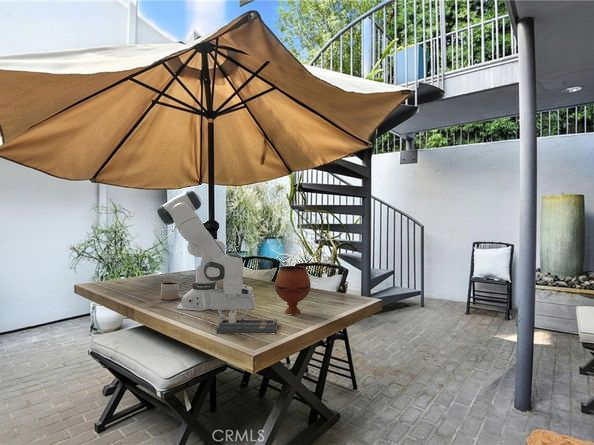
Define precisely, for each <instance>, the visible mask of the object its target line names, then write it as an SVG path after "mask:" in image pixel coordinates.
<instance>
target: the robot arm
mask: <svg viewBox="0 0 594 445" xmlns="http://www.w3.org/2000/svg"><path fill="white" fill-rule="evenodd" d="M201 206H202V200H201V197H200V196H199V195H198V193H196V192H195V191H194V190H188V191H185V192H184V193H181V194H179V195H177V196H175V197H173V198H172V199H170V200H169V201H166V203H163V204H161V205H160V206H159V207H158V208H157V210H156V212H157V217H158V220H159V221H160V222H162V223H163V224H164V225H167V226H168V225H172V224H174V225H175V227H176V229H177V230H178V232H179V234H180V235H181V237H182V238H183V239H184V240H185V241H187V251H188V253H189V255H191V256H194V257H196V258H201V261H200V264H199V265H198V266H196V268H195V281H193V283H192V284H191V287H192V288H191V289H190V290H189V291H188V292H186V293H185V294H184V295H183V296H182V297H181V303H178V305H177V306H176V309H177V310H183V311H196V312H197V311H199V312H203V311H207V310H214V311H215V310H217V311H218V312H217V313H218V314H219V316H220V320H222V319H224V318H225V316H226V315H225V314H223V312H222V311H224V310H225V311H233V310H234V311H243V312H244V314H241V318H240V319H241V320H245V319H246V314H247V313H248V311H253V310H255V308H256V299H255V298H256V297H255V294H254V292H253V290H254V288H253V287H252V286H249V285H246V284H244V280H243V275H244V262H243V258H242V256H241V255H240V254H237V253H235V252H234V253H233V252H228V253H225V252H226V246H225V243H224V242H223V241H222V240H219V239H215V238H214V237H213V235H212V234H211V233H210V232H209V231H208V230H207V228H206V227H205V225H204V223H203V222H202V220H201V219H200V217H199V215H198V214H197V212H196V211H198V210H199V209H200V208H201ZM218 281H223V286H222V287H223V288H218V287H217V286H218V285H217V282H218Z"/></svg>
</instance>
